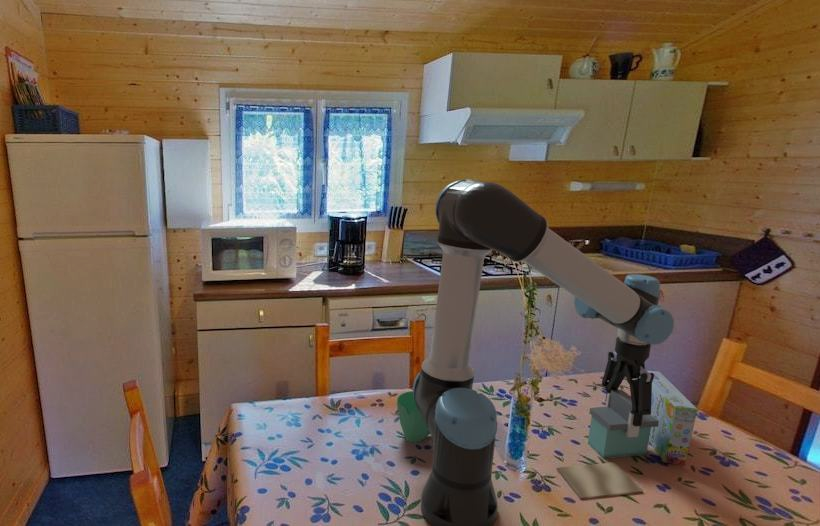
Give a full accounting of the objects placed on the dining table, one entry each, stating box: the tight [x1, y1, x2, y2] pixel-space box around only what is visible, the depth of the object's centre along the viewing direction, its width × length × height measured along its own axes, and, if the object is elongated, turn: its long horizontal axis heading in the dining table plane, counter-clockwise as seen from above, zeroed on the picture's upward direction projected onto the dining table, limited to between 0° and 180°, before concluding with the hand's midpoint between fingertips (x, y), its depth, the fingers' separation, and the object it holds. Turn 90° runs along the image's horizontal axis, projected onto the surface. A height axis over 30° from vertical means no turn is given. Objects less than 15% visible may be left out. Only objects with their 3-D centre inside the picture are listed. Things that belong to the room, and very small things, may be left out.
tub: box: [587, 415, 651, 459], centre depth 117 cm, size 12×6×8 cm, turn 102°
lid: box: [589, 388, 659, 431], centre depth 115 cm, size 14×8×7 cm, turn 103°
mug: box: [396, 390, 431, 443], centre depth 118 cm, size 15×10×10 cm
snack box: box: [646, 370, 698, 466], centre depth 121 cm, size 21×6×15 cm, turn 175°
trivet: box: [556, 461, 644, 500], centre depth 105 cm, size 15×10×1 cm, turn 102°
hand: (620, 426), depth 116 cm, fingers closed on lid, 8 cm apart
